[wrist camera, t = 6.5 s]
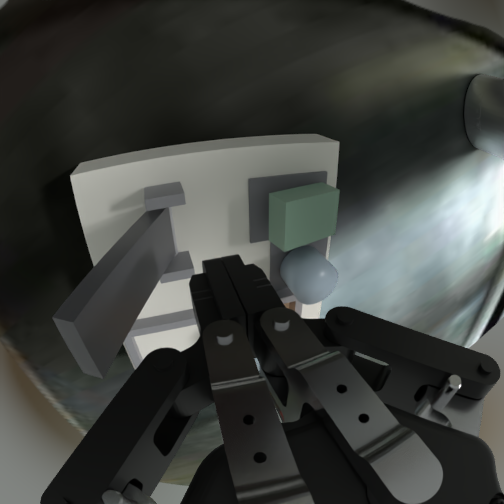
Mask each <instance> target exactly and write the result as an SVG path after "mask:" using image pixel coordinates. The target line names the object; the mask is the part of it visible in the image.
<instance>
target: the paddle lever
mask: <svg viewBox="0 0 504 504" xmlns="http://www.w3.org/2000/svg"><path fill="white" fill-rule="evenodd" d="M175 254H176V251H175V245H174V239H173V233H172V226H171V219H170V212H169V207H167V208H162V209H156V210H151V211H146V212H145V213H144V214H143V215H142V216H141V217H140V218H139V219H138V220H137V221H136V222H135V223H134V224H133V225H132V226H131V227H130V228H129V229H128V230H127V231H126V232H125V234H124V235H123V236H122V237H121V238H120V239H119V240H118V241H117V242H116V243H115V244H114V245H113V246H112V247H111V249H110V250H109V251H108V252H107V253H106V254H105V255H104V256H103V257H102V258H101V260H100V261H99V262H98V263H97V264H96V265H95V266H94V267H93V269H92V270H91V271H90V272H89V273H88V274H87V275H86V277H85V278H84V279H83V280H82V281H81V283H80V284H79V285H78V286H77V287H76V288H75V290H74V291H73V292H72V293H71V294H70V296H69V297H68V298H67V299H66V301H65V302H64V303H63V304H62V306H61V307H60V308H59V309H58V311H57V312H56V313H55V314H54V316H53V317H52V318H53V320H54V322H55V324H56V326H57V328H58V329H59V331H60V333H61V335H62V337H63V339H64V340H65V342H66V344H67V346H68V348H69V349H70V351H71V353H72V354H73V356H74V358H75V360H76V361H77V363H78V364H79V366H80V368H81V369H82V371H83V373H86V374H89V375H92V376H95V377H99V378H102V379H104V377H105V376H106V374H107V372H108V370H109V368H110V366H111V364H112V362H113V361H114V359H115V357H116V355H117V353H118V351H119V350H120V348H121V346H122V344H123V342H124V340H125V339H126V337H127V335H128V333H129V332H130V330H131V328H132V326H133V324H134V323H135V321H136V319H137V317H138V316H139V314H140V312H141V311H142V309H143V307H144V305H145V304H146V302H147V300H148V299H149V297H150V295H151V294H152V292H153V290H154V289H155V287H156V285H157V284H158V282H159V280H160V279H161V277H162V275H163V274H164V272H165V270H166V269H167V267H168V265H169V264H170V262H171V261H172V259H173V257H174V256H175Z"/></svg>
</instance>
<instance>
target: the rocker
mask: <svg viewBox="0 0 504 504" xmlns="http://www.w3.org/2000/svg"><path fill="white" fill-rule="evenodd" d="M339 193H340V190H339V189H337V188H334V187H332V186H330V185H327V184H325V183H323V182H320V183H315V184H310V185H305V186H301V187H296V188H291V189H286V190H282V191H277V192H273V193H269V241H270V242H272V243H273V244H274V245H276V246H277V247H278V248H280V249H281V250H282V251H284V252H286V251H289V250H292V249H295V248H297V247H300V246H303V245H306V244H309V243H312V242H315V241H317V240H320V239H323V238H326V237H329V236H332V235H334V234H335V230H336V221H337V213H338V203H339Z"/></svg>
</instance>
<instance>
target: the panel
mask: <svg viewBox="0 0 504 504" xmlns="http://www.w3.org/2000/svg"><path fill="white" fill-rule="evenodd" d="M338 156H339V142H338V141H335V140H332V139H330V138H327V137H324V136H321V135H318V134H289V135H269V136H254V137H241V138H230V139H220V140H211V141H202V142H194V143H186V144H179V145H172V146H165V147H159V148H152V149H146V150H141V151H135V152H130V153H124V154H119V155H114V156H109V157H105V158H100V159H95V160H91V161H86V162H82V163H80V164H79V165H78V166H77V168H76V169H75V170H74V171H73V173H72V174H71V175H70V178H71V183H72V188H73V192H74V197H75V201H76V205H77V209H78V213H79V217H80V221H81V225H82V228H83V232H84V235H85V239H86V242H87V246H88V249H89V252H90V256H91V259H92V262H93V265H94V266H95V265H96V264H97V263H98V262H99V261H100V260H101V258H102V257H103V256H104V255H105V254H106V253H107V252H108V251H109V250H110V249H111V247H112V246H113V245H114V244H115V243H116V242H117V241H118V240H119V239H120V238H121V237H122V236H123V235H124V234H125V232H126V231H127V230H128V229H129V228H130V227H131V226H132V225H133V224H134V223H135V222H136V221H137V220H138V219H139V218H140V217H141V216H142V215H143V214H144V213H145V212H146V211H151V210H156V209H162V208H167V207H169V212H170V219H171V226H172V233H173V239H174V245H175V251H176V254H175V256H174V257H173V259H172V261H171V262H170V264H169V265H168V267H167V269H166V270H165V272H164V274H163V275H162V277H161V279H160V280H159V282H158V284H157V285H156V287H155V289H154V290H153V292H152V294H151V295H150V297H149V299H148V300H147V302H146V304H145V305H144V307H143V309H142V311H141V312H140V314H139V316H138V317H137V319H136V321H135V323H134V324H133V326H132V328H131V330H130V332H129V333H128V335H127V337H126V339H125V340H124V342H123V345H124V347H125V349H126V351H127V354H128V356H129V358H130V360H131V362H132V365H133V367H134V369H135V370H136V368H137V367H138V366H139V365H140V363H141V362H142V361H143V359H144V358H145V357H146V356H147V355H148V354H149V353H150V352H152V351H153V350H156V349H159V348H165V347H168V348H174V349H176V350H179V351H180V352H181V351H183V350H185V349H187V348H189V347H191V346H192V345H193V344H195V343H196V342H197V340H198V339H199V337H200V334H199V331H198V327H197V323H196V319H195V315H194V311H193V306H192V300H191V294H190V288H189V282H190V279H191V276H192V275H195V274H200V273H203V268H202V260H208V259H213V258H219V257H220V258H221V257H224V256H230V255H235V254H239V255H240V257H241V259H242V261H243V263H244V264H245V265H248V264H255V265H256V266H258V267H259V268H261V269H262V270H263V272H264V273H265V275H266V276H267V279H268V280H269V281H270V283H271V285H272V286H273V288H274V289H275V291H276V292H277V294H278V296H279V297H280V299H281V301H282V302H283V304H284V305H285V307H286V308H289V309H292V310H294V311H295V312H297V313H298V314H299V315H300V317H301V318H306V319H319V316H320V310H321V304H322V301H320V302H318V303H315V304H311V305H306V304H302V303H300V302H299V301H298V300H297V299H296V297H295V296H294V294H293V293H292V292H291V290H290V289H289V287H288V286H287V285H286V283H285V282H284V280H283V279H282V277H281V274H280V267H281V264H282V262H283V260H284V258H285V257H286V256H287V255H288V254H289V253H290V252H291V251H292V250H294V249H292V250H289V251H286V252H284V251H282V250H281V249H280V248H278V247H277V246H276V245H274V244H273V243H272V242H270V241H269V193H273V192H277V191H282V190H286V189H291V188H296V187H301V186H305V185H310V184H315V183H320V182H323V183H325V184H327V185H330V186H332V187H334V188H336V182H337V170H338ZM330 240H331V236H329V237H326V238H323V239H320V240H317V241H315V242H312V243H309V244H306V245H303V246H312V247H315V248H316V249H317V250H318V251H319V252H320V253H321V254H322V255H323V256H324V257H325V258H326V259H327V260H328V255H329V248H330ZM297 248H298V247H297Z"/></svg>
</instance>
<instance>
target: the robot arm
mask: <svg viewBox="0 0 504 504" xmlns="http://www.w3.org/2000/svg"><path fill="white" fill-rule="evenodd" d="M464 118H465V127H466V132H467V135H468V138H469V140H470V142H471V144H472V145H473V146H474V147H476V148H477V149H480V150H482V151H485V152H487V153H490V154H492V155H494V156H496V157H499V158H501V159H503V160H504V79H502V78H498V77H493V76H489V75H484V74H480V75H477V76H476V77H475V78H474V79H473V80H472V82H471V83H470V85H469V88H468V90H467V94H466V99H465V109H464ZM202 268H203V273H200V274H195V275H192V276H191V279H190V282H189V288H190V294H191V300H192V306H193V311H194V315H195V319H196V323H197V327H198V331H199V334H200V337H199V339H198V340H197V342H196V343H195V344H193V345H192V346H191V347H189V348H187V349H185V350H183V351H181V352H180V351H179V350H176V349H174V348H168V347H165V348H159V349H156V350H153V351H152V352H150V353H149V354H148V355H147V356H146V357H145V358H144V359H143V361H142V362H141V363H140V365H139V366H138V367H137V368H136V370H135V371H134V372H133V374H132V375H131V376H130V377H129V379H128V380H127V381H126V383H125V384H124V385H123V387H122V388H121V389H120V391H119V392H118V393H117V394H116V396H115V397H114V398H113V400H112V401H111V402H110V404H109V405H108V406H107V408H106V409H105V410H104V412H103V413H102V414H101V416H100V417H99V418H98V420H97V421H96V422H95V424H94V425H93V426H92V428H91V429H90V430H89V432H88V433H87V434H86V436H85V437H84V438H83V440H82V441H81V443H80V444H79V445H78V446H77V448H76V449H75V450H74V452H73V453H72V454H71V456H70V457H69V459H68V460H67V461H66V463H65V464H64V465H63V467H62V468H61V469H60V471H59V472H58V474H57V475H56V477H55V478H54V479H53V480H52V482H51V483H50V485H49V486H48V488H47V489H46V490H45V492H44V493H43V495H42V497H41V502H40V503H41V504H157V503H156V502H155V501H154V500H153V499H152V498H151V497H150V496H151V494H152V493H153V491H154V490H155V488H156V486H157V484H158V483H159V481H160V480H161V478H162V476H163V475H164V473H165V471H166V470H167V468H168V466H169V464H170V463H171V461H172V459H173V458H174V456H175V454H176V453H177V451H178V449H179V447H180V446H181V444H182V442H183V441H184V439H185V437H186V435H187V434H188V432H189V430H190V428H191V427H192V425H193V423H194V421H195V420H196V418H197V416H198V414H199V410H201V409H203V408H205V407H207V406H208V405H210V404H212V403H214V402H215V407H216V412H217V416H218V421H219V425H220V430H221V434H222V439H223V443H224V444H222V445H220V446H219V447H217V448H216V449H214V450H213V451H212V452H211V453H210V454H209V455H208V456H207V457H206V458H205V459H204V460H203V461H202V463H201V464H200V466H199V467H198V469H197V471H196V473H195V475H194V477H193V479H192V481H191V483H190V485H189V488H188V489H187V491H186V493H185V495H184V497H183V499H182V501H181V503H180V504H504V494H503V493H502V491H501V488H500V485H499V482H498V478H497V473H496V466H495V460H494V456H493V453H492V451H491V449H490V448H489V446H488V445H487V444H486V443H485V442H484V441H483V440H482V439H480V438H479V431H480V424H481V418H482V410H483V402H484V397H485V396H486V395H487V393H488V392H489V391H490V390H491V388H492V387H493V386H494V385H495V384H496V382H497V381H498V380H499V378H500V369H499V366H498V364H497V363H496V361H494V359H493V358H491V357H490V356H488V355H485V354H482V353H479V352H476V351H473V350H470V349H468V348H465V347H462V346H459V345H456V344H453V343H450V342H447V341H444V340H441V339H438V338H435V337H432V336H429V335H426V334H424V333H421V332H418V331H415V330H412V329H409V328H406V327H403V326H401V325H398V324H395V323H392V322H389V321H386V320H384V319H381V318H378V317H375V316H372V315H370V314H367V313H364V312H361V311H358V310H356V309H353V308H350V307H335V308H333V309H331V310H330V311H328V313H327V314H326V317H325V319H306V318H301V317H300V315H299V314H298V313H297V312H295V311H294V310H292V309H289V308H286V307H285V305H284V304H283V302H282V301H281V299H280V297H279V296H278V294H277V292H276V291H275V289H274V288H273V286H272V285H271V283H270V281H269V280H268V279H267V276H266V275H265V273H264V272H263V270H262V269H261V268H259V267H258V266H256V265H255V264H248V265H245V264H244V263H243V261H242V259H241V257H240V255H239V254H235V255H230V256H224V257H221V258H220V257H219V258H213V259H208V260H202ZM355 352H359V353H362V354H364V355H367V356H370V357H372V358H375V359H378V360H380V361H383V362H386V363H387V364H389V365H387V366H385V365H381V364H378V363H375V362H373V361H370V360H367V359H365V358H362V357H359V356H357V355H355ZM254 358H257V359H258V361H259V363H260V374H261V376H260V374H259V371H258V368H257V365H256V362H255V359H254ZM270 393H271V394H272V396H273V398H274V400H275V401H276V403H277V405H278V407H279V408H280V410H281V412H282V415H283V418H284V423H281V422H280V419H279V416H278V413H277V411H276V408H275V405H274V402H273V399H272V396H271V394H270Z"/></svg>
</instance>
